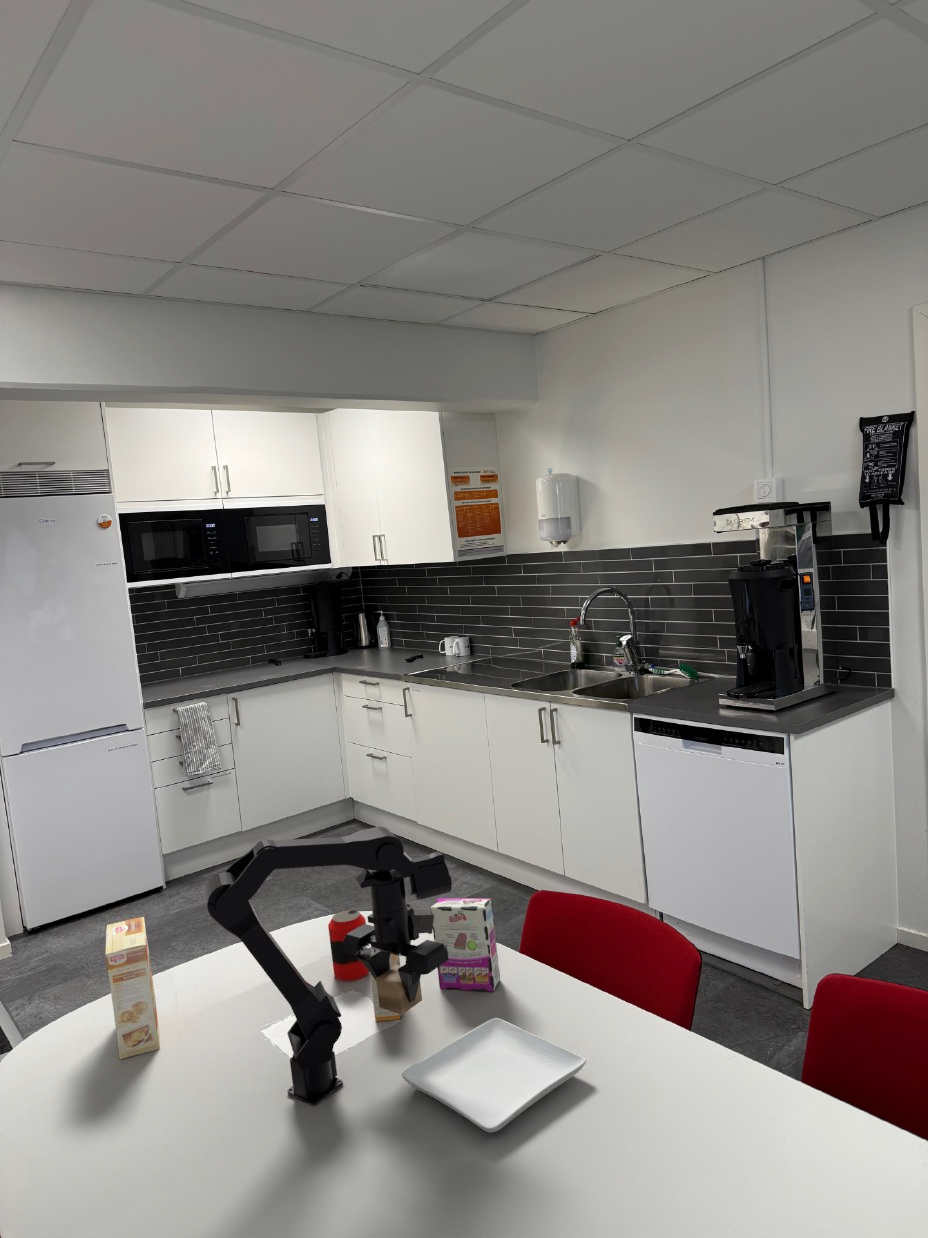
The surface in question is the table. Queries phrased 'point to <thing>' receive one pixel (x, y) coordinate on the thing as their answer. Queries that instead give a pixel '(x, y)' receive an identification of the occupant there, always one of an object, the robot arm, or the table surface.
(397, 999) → the walnut cube
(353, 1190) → the table surface
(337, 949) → the soda can
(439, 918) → the candy bar box
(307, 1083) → the robot arm
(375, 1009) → the supplement box
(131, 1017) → the coffeecake box
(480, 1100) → the salad plate
